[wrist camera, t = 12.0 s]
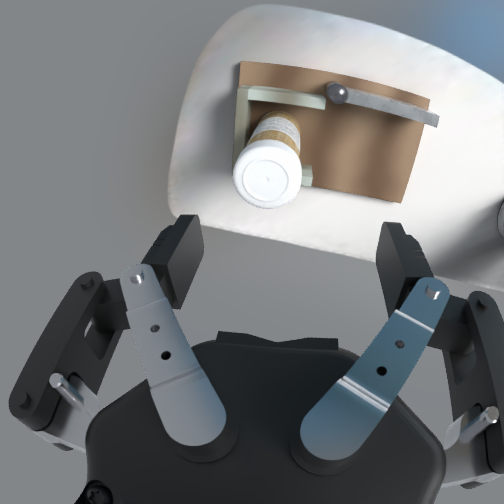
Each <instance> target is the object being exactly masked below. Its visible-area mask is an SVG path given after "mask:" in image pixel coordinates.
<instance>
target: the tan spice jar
mask: <svg viewBox="0 0 504 504" xmlns="http://www.w3.org/2000/svg"><path fill="white" fill-rule="evenodd" d="M299 153H300V126H299V124H298V122H297V120H296V119H295V118H294V117H293V116H292V115H291V114H289V113H287V112H284V111H272V112H269V113H267V114H265V115H264V116H263V117H262V118H261V120H260V121H259V123H258V126H257V127H256V129H255V131H254V133H253V135H252V136H251V138H250V140H249V142H248V144H247V146H246V148H244V150H243V151H242V152H241V153H240V155H239V157H238V159H237V161H236V163H235V166H234V169H233V182H234V186H235V188H236V190H237V192H238V194H239V195H240V196H241V197H242V198H243V199H244V200H245V201H246V202H248V203H249V204H251V205H253V206H256V207H259V208H265V209H272V208H278V207H281V206H283V205H285V204H287V203H289V202H290V201H291V200H292V199H293V198H294V197H295V196H296V194H297V193H298V191H299V189H300V186H301V179H302V168H301V163H300V160H299Z"/></svg>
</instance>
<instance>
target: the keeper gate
mask: <svg viewBox="0 0 504 504" xmlns="http://www.w3.org/2000/svg"><path fill="white" fill-rule="evenodd" d="M324 91H325V93H326V95H327V96H328V97H329V99H330V100H331V101H332V102H333V103H336V104H342V103H344V102H346V103H351V104H355V105H360V106H364V107H368V108H372V109H376V110H380V111H384V112H388V113H391V114H395V115H399V116H402V117H405V118H409V119H412V120H415V121H418V122H422V123H425V124H428V125H431V126H434V127H436V128H437V125H438V121H439V117H440V116H438V115H437V114H435V113H433V112H431V111H429V110H427V109H425V108H423V107H420V106H417V105H414V104H411V103H408V102H405V101H401V100H398V99H394V98H391V97H387V96H384V95H380V94H376V93H372V92H368V91H364V90H360V89H356V88H351V87H347V86H342V85H341V84H339V83H338V82H336V81H330V82H328V83H327V84H326V85H325V87H324Z"/></svg>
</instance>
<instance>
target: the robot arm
mask: <svg viewBox="0 0 504 504" xmlns="http://www.w3.org/2000/svg"><path fill="white" fill-rule="evenodd" d="M498 229H499V232H500V234H501V235H502V237H503V238H504V202H503V204H502V206H501V209H500V212H499V216H498ZM203 253H204V243H203V237H202V231H201V226H200V220H199V217H198V215H180V216H179V218H178V219H177V221H176V223H175V224H174V225H170V226H168V227H167V228H165V229H164V230H163V231H161V233H160V234H159V236H158V237H157V240H155V242H154V243H153V246H152V247H151V248H150V250H149V251H148V253H147V254H146V256H145V257H144V259H143V260H142V262H141V264H136V265H133V266H130V267H129V268H127V269H126V270H125V271H124V272H123V273H122V274H121V276H120V278H119V279H114V280H107V281H104V280H103V278H102V276H101V275H100V274H99V273H98V272H88V273H85V274H83V275H81V276H80V277H78V278H77V279H76V280H75V282H74V283H73V285H72V286H71V288H70V289H69V291H68V292H67V294H66V295H65V297H64V299H63V300H62V301H61V303H60V305H59V306H58V308H57V309H56V311H55V313H54V314H53V316H52V318H51V319H50V321H49V323H48V324H47V326H46V328H45V330H44V331H43V333H42V335H41V336H40V338H39V340H38V342H37V343H36V345H35V347H34V349H33V351H32V353H31V354H30V356H29V358H28V360H27V362H26V364H25V366H24V368H23V370H22V372H21V374H20V376H19V378H18V380H17V382H16V384H15V386H14V388H13V390H12V392H11V395H10V398H9V409H10V412H11V413H12V415H13V416H14V417H16V418H17V419H18V420H19V421H21V422H22V423H23V424H25V425H26V426H27V427H28V428H29V429H30V430H31V431H33V432H34V433H35V434H37V435H38V436H40V437H41V438H43V439H44V440H46V441H47V442H49V443H52V444H54V445H55V446H56V447H58V448H60V449H62V450H65V451H68V450H73V449H76V450H79V451H81V452H84V453H86V455H87V465H88V466H87V468H88V469H87V482H86V486H85V488H84V490H83V492H82V494H81V495H80V497H79V498H78V500H77V501H76V502H75V503H74V504H434V501H435V499H436V496H437V494H438V491H439V490H440V488H445V487H450V486H455V485H461V486H462V487H463V488H466V489H472V488H475V487H477V486H480V485H482V484H484V483H487V482H489V481H491V480H493V479H495V478H497V477H499V476H501V475H503V474H504V322H503V319H502V316H501V314H500V311H499V309H498V306H497V304H496V302H495V301H494V299H492V297H490V296H489V295H488V294H486V293H484V292H481V291H474V292H472V293H471V294H470V295H469V297H468V299H467V300H466V299H463V298H459V297H455V296H452V295H450V293H449V289H448V287H447V286H446V285H445V284H444V283H443V282H442V281H440V280H438V279H436V278H434V276H433V274H432V271H431V269H430V267H429V264H428V262H427V260H426V258H425V255H424V253H423V252H422V249H421V247H420V245H419V243H418V241H417V240H416V239H415V238H413V237H412V236H411V235H406V234H405V231H404V229H403V227H402V225H401V223H395V222H383V224H382V228H381V233H380V238H379V242H378V247H377V252H376V266H377V270H378V274H379V278H380V282H381V286H382V290H383V294H384V299H385V303H386V308H387V312H388V317H389V319H388V321H387V322H386V324H385V325H384V326H383V328H382V329H381V331H380V332H379V333H378V335H377V336H376V337H375V339H374V340H373V341H372V342H371V344H370V345H369V346H368V348H367V349H366V350H365V351H364V353H363V354H362V355H361V357H359V356H358V355H356V354H355V353H353V352H350V351H348V350H345V349H342V348H339V347H338V339H336V338H334V339H333V338H303V339H297V340H291V341H284V342H273V341H270V340H266V339H263V338H259V337H256V336H253V335H249V334H245V333H232V332H223V331H222V332H221V331H218V334H217V338H216V340H211V341H206V342H203V343H200V344H197V345H195V346H193V347H190V345H189V343H188V341H187V339H186V337H185V335H184V333H183V331H182V329H181V327H180V325H179V323H178V321H177V318H176V316H175V314H174V312H173V310H172V309H181V307H182V304H183V302H184V300H185V297H186V295H187V292H188V290H189V287H190V285H191V283H192V281H193V278H194V276H195V274H196V271H197V269H198V267H199V264H200V262H201V260H202V257H203ZM90 321H91V322H92V325H91V327H90V329H89V330H88V332H87V335H86V336H85V337H84V333H85V329H86V327H87V325H88V323H89V322H90ZM125 329H131V332H132V334H133V338H134V341H135V345H136V348H137V351H138V354H139V356H140V360H141V363H142V366H143V368H144V371H145V374H146V377H147V379H145V380H144V381H143V382H141V383H140V384H138V385H137V386H135V387H134V388H133V389H131V390H130V391H128V392H127V393H126V394H124V395H122V396H121V397H120V398H118V399H117V400H115V401H114V402H112V403H111V404H109V405H108V406H106V407H105V408H103V409H102V410H101V411H100V412H99V400H98V398H97V393H98V390H99V387H100V385H101V383H102V380H103V377H104V375H105V372H106V370H107V367H108V365H109V362H110V360H111V358H112V355H113V353H114V350H115V348H116V346H117V343H118V341H119V339H120V337H121V334H122V332H123V330H125ZM426 346H430V347H433V348H437V349H441V350H442V352H443V357H444V362H445V368H446V373H447V379H448V384H449V391H450V398H451V406H452V414H453V423H452V424H451V425H450V426H449V428H448V429H447V432H446V435H445V443H444V447H443V446H442V444H441V442H440V441H439V440H438V439H437V437H436V436H435V435H434V434H433V433H432V432H431V431H430V430H429V429H428V428H427V426H426V425H425V424H424V423H423V422H422V421H421V420H420V419H419V418H418V417H417V416H416V415H415V414H414V412H413V411H412V410H411V409H410V408H409V407H408V406H407V405H406V404H405V403H404V402H403V401H402V399H401V398H400V397H399V396H398V393H399V391H400V390H401V388H402V387H403V385H404V383H405V382H406V380H407V379H408V377H409V375H410V374H411V372H412V370H413V369H414V367H415V365H416V364H417V362H418V360H419V358H420V356H421V355H422V353H423V351H424V349H425V347H426Z"/></svg>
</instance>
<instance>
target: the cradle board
mask: <svg viewBox="0 0 504 504" xmlns="http://www.w3.org/2000/svg"><path fill="white" fill-rule="evenodd" d="M330 81H336V82H338V83H339V84H341V85H342V86H347V87H351V88H356V89H360V90H364V91H368V92H372V93H376V94H380V95H384V96H387V97H391V98H394V99H398V100H401V101H405V102H408V103H411V104H414V105H417V106H420V107H423V108H425V109H427V110H428V107H429V102H430V99H427V98H425V97H422V96H419V95H416V94H413V93H410V92H406V91H403V90H400V89H397V88H393V87H390V86H386V85H383V84H379V83H375V82H371V81H367V80H363V79H359V78H355V77H350V76H346V75H341V74H336V73H331V72H326V71H320V70H314V69H308V68H302V67H295V66H287V65H279V64H270V63H259V62H246V61H241V64H240V77H239V88H237V102H236V117H235V132H234V148H233V165H232V176H233V169H234V166H235V163H236V161H237V159H238V157H239V155H240V153H241V152H242V151H243V150H244V148H246V146H247V144H248V142H249V140H250V138H251V136H252V135H253V133H254V131H255V129H256V127H257V126H258V123H259V121H260V120H261V118H262V117H263V116H264V115H265V114H267V113H269V112H272V111H284V112H287V113H289V114H291V115H292V116H293V117H294V118H295V119H296V120H297V122H298V124H299V126H300V153H299V160H300V163H301V168H302V179H301V185H303V186H309V187H311V186H313V187H319V188H325V189H331V190H336V191H342V192H347V193H353V194H358V195H363V196H368V197H373V198H378V199H383V200H387V201H392V202H397V203H401V202H402V199H403V196H404V193H405V190H406V187H407V184H408V181H409V177H410V174H411V171H412V168H413V164H414V161H415V157H416V154H417V150H418V147H419V143H420V139H421V135H422V132H423V128H424V124H425V123H422V122H418V121H415V120H412V119H409V118H405V117H402V116H399V115H395V114H391V113H388V112H384V111H380V110H376V109H372V108H368V107H364V106H360V105H355V104H351V103H346V102H344V103H342V104H336V103H333V102H332V101H331V100H330V99H329V97H328V96H327V95H326V93H325V91H324V87H325V85H326V84H327V83H328V82H330Z"/></svg>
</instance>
